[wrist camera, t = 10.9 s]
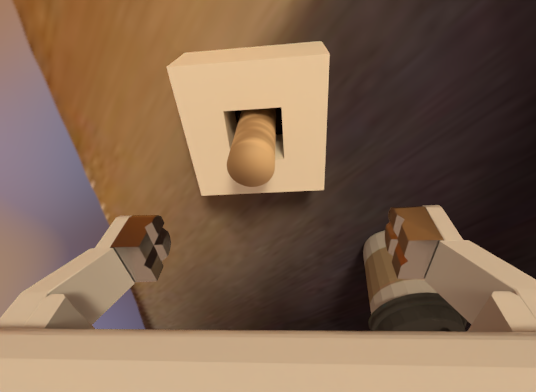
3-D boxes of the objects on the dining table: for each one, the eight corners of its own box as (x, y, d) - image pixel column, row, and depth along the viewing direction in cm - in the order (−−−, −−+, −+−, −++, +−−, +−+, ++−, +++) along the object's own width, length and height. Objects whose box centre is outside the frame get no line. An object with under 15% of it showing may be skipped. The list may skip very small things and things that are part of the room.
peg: (275, 94, 32) (272, 143, 23) (277, 128, 35) (276, 185, 25) (239, 97, 33) (222, 147, 23) (244, 130, 35) (230, 188, 25)
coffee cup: (415, 268, 49) (459, 362, 37) (346, 270, 50) (368, 362, 38) (432, 217, 42) (492, 312, 30) (352, 220, 43) (380, 314, 31)
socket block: (321, 41, 29) (329, 53, 24) (318, 162, 37) (324, 189, 33) (184, 52, 30) (166, 67, 25) (211, 168, 38) (201, 195, 34)
